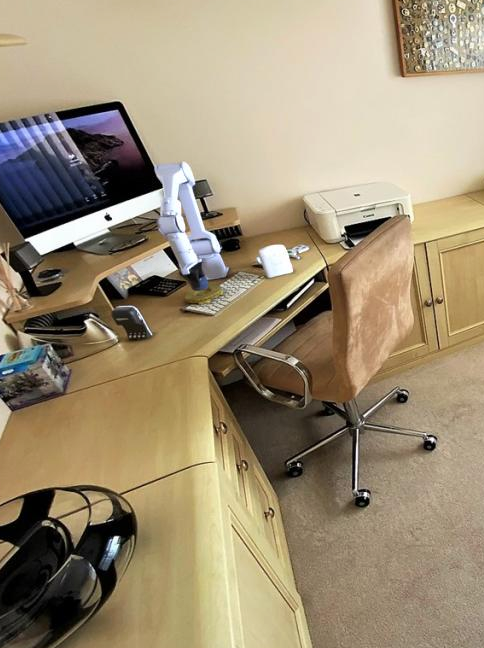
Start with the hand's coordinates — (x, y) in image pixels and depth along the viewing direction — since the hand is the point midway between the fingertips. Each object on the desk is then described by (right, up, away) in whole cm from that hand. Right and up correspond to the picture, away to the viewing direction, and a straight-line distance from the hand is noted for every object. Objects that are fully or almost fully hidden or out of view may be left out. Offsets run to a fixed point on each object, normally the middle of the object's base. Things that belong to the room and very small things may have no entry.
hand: (199, 283), depth 157 cm
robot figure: (+16, +15, +33) cm, 39 cm away
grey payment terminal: (-6, -20, -19) cm, 28 cm away
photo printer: (+21, +6, +17) cm, 28 cm away
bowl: (0, -1, +1) cm, 2 cm away
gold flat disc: (0, -5, +3) cm, 6 cm away
